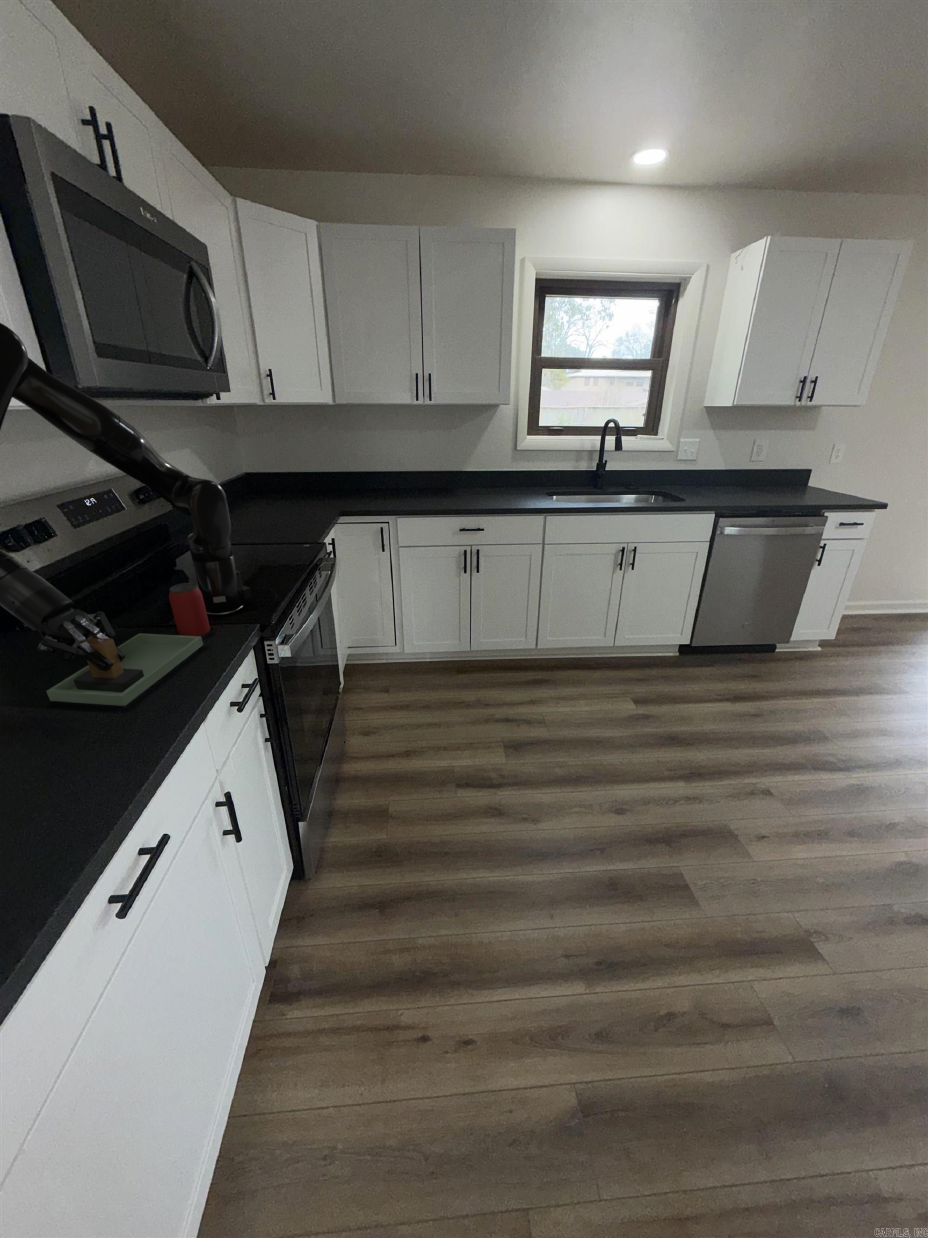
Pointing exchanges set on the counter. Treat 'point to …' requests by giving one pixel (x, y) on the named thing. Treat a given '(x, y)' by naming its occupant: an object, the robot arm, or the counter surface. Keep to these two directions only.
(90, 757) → the counter surface
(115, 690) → the eraser
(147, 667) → the tray
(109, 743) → the counter surface
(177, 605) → the beer can
